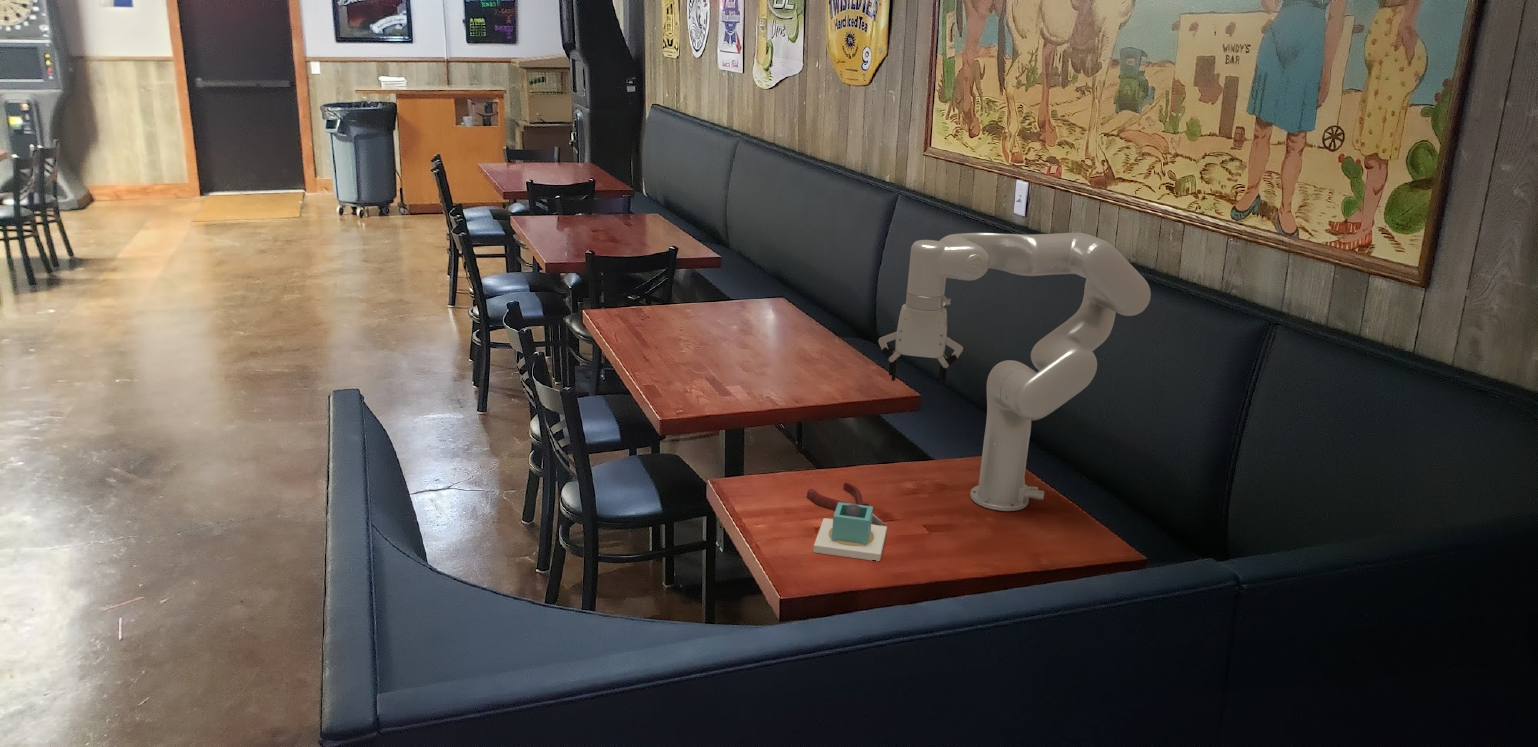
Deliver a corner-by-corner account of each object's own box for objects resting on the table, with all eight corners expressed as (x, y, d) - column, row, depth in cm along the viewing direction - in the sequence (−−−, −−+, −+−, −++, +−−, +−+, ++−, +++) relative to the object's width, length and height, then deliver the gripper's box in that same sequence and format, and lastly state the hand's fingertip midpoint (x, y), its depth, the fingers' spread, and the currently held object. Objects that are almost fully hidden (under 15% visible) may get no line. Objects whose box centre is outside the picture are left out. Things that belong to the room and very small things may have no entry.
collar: (871, 529, 228) (873, 506, 227) (867, 544, 222) (869, 520, 220) (836, 524, 229) (838, 501, 228) (831, 539, 223) (833, 516, 221)
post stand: (886, 533, 231) (889, 498, 229) (879, 561, 219) (883, 525, 216) (823, 524, 233) (825, 490, 231) (813, 552, 221) (815, 516, 219)
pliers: (855, 536, 230) (856, 524, 229) (804, 498, 246) (804, 487, 246) (901, 527, 235) (902, 515, 235) (848, 490, 252) (849, 480, 251)
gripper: (968, 301, 232) (959, 380, 238) (884, 293, 235) (877, 371, 240) (967, 310, 225) (958, 391, 230) (880, 301, 228) (873, 382, 233)
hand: (916, 381), depth 235 cm, fingers open, 9 cm apart
